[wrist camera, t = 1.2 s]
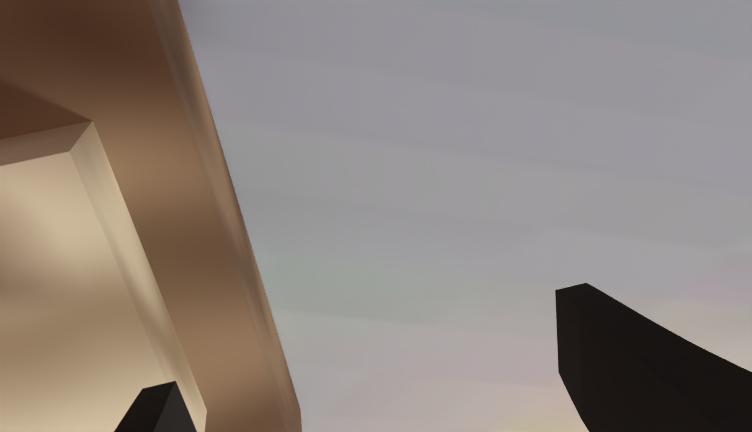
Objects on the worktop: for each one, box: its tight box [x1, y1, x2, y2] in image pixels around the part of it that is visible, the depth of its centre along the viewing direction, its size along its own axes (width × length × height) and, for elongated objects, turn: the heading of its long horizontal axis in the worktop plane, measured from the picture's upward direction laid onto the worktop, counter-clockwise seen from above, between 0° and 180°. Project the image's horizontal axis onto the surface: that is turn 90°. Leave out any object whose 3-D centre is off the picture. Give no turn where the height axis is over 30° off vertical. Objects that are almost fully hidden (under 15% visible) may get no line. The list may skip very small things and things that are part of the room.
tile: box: [0, 121, 207, 432], centre depth 15 cm, size 9×6×2 cm, turn 9°
